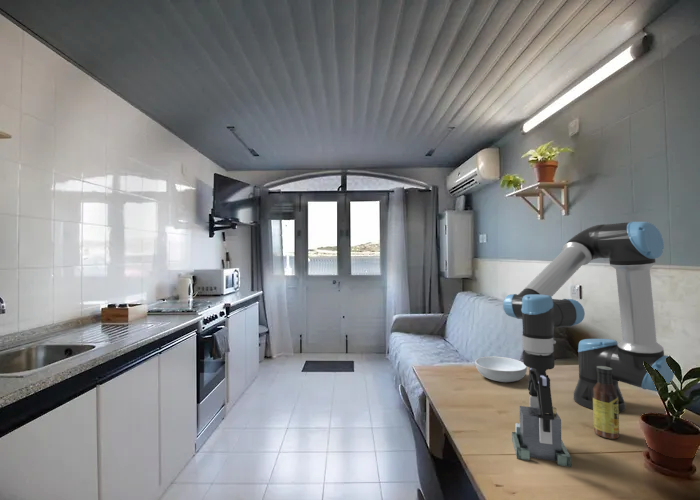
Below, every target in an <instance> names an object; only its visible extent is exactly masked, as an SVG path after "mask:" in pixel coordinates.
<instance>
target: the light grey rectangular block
mask: <svg viewBox="0 0 700 500" xmlns="http://www.w3.org/2000/svg"><path fill="white" fill-rule="evenodd" d="M514 430H515V431H514V432H516V433H520V422H515V428H514Z"/></svg>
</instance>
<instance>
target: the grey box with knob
mask: <svg viewBox="0 0 700 500" xmlns="http://www.w3.org/2000/svg"><path fill="white" fill-rule="evenodd" d="M552 407H553V415H554V420H552V444H545V443H540V431H539V418H538V417H537V415H540V410H539V408H534V407H530V406H525V405H523V406H522V405H519V424H520V443H519V444H520V448H526V449H529V451H530V458H532V459H539V460H546V461H551V462H552V461H553V462H557V453H560V454H562V447H561V440H562V419H561V418H560V415H559V413H558V412H557V408H556V407H554V405H552ZM545 414H548V413H545Z"/></svg>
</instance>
